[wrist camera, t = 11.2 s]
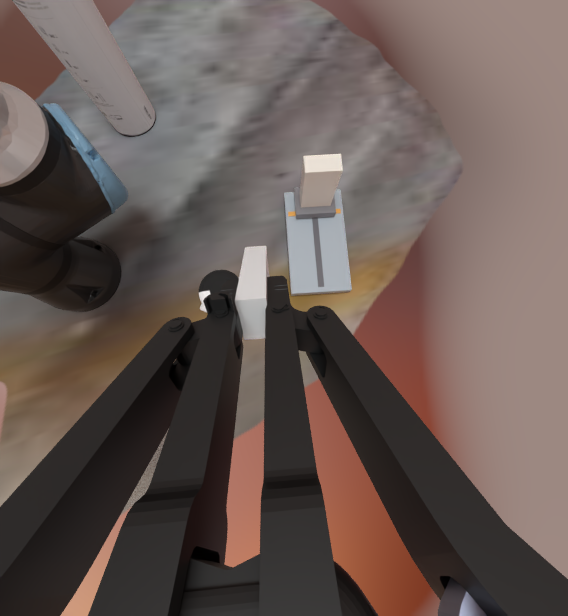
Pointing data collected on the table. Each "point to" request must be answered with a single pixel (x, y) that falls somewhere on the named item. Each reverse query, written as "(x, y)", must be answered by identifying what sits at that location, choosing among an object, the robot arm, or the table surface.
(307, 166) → the fader
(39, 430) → the table surface
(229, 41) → the table surface
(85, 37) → the speaker
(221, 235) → the table surface
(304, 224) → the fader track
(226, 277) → the container
